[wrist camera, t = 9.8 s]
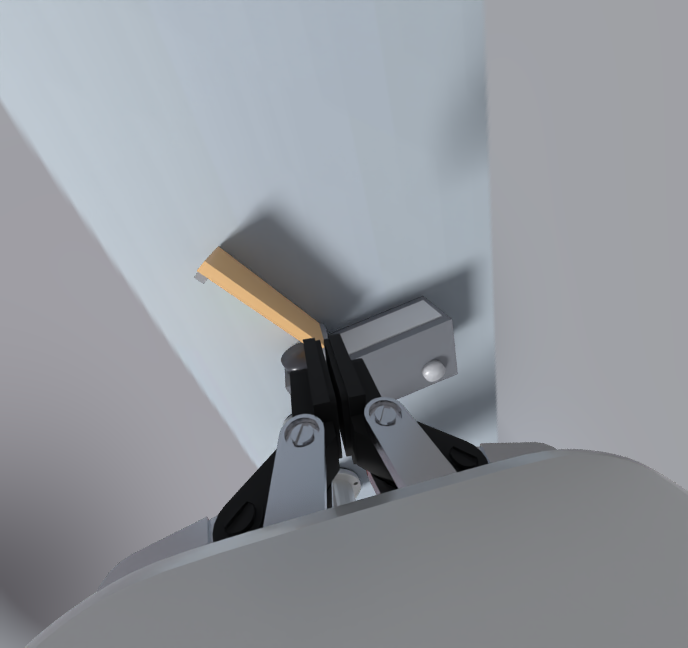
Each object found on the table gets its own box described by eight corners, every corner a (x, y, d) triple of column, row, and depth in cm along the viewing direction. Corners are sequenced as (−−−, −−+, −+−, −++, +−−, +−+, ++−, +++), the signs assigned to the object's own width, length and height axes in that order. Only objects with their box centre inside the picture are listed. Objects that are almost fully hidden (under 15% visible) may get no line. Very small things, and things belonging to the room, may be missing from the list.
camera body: (309, 396, 34) (316, 439, 29) (279, 343, 30) (279, 383, 24) (431, 345, 35) (461, 378, 29) (421, 286, 30) (455, 311, 24)
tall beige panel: (327, 327, 30) (336, 353, 25) (315, 338, 30) (322, 366, 26) (219, 244, 23) (205, 259, 18) (206, 260, 23) (189, 279, 19)
